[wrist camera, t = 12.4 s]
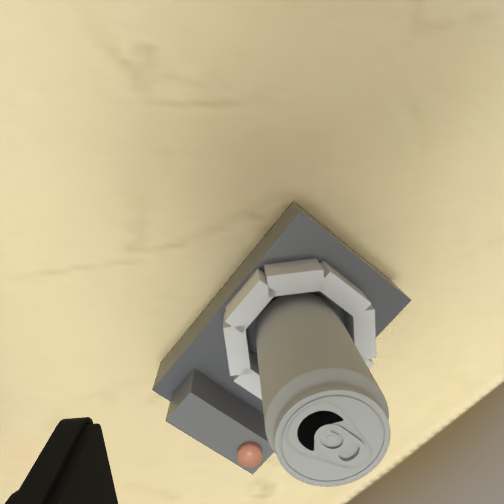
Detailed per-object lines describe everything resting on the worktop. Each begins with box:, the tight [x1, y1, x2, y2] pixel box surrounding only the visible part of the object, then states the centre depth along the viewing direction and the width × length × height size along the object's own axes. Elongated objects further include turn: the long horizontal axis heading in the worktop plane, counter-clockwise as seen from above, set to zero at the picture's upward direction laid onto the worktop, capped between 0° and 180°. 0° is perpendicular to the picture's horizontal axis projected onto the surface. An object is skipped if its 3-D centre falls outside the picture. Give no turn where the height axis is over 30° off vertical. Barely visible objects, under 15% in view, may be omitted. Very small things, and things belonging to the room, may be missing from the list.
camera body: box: [152, 202, 411, 474], centre depth 32 cm, size 18×11×8 cm, turn 141°
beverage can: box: [255, 293, 390, 487], centre depth 26 cm, size 6×6×12 cm
